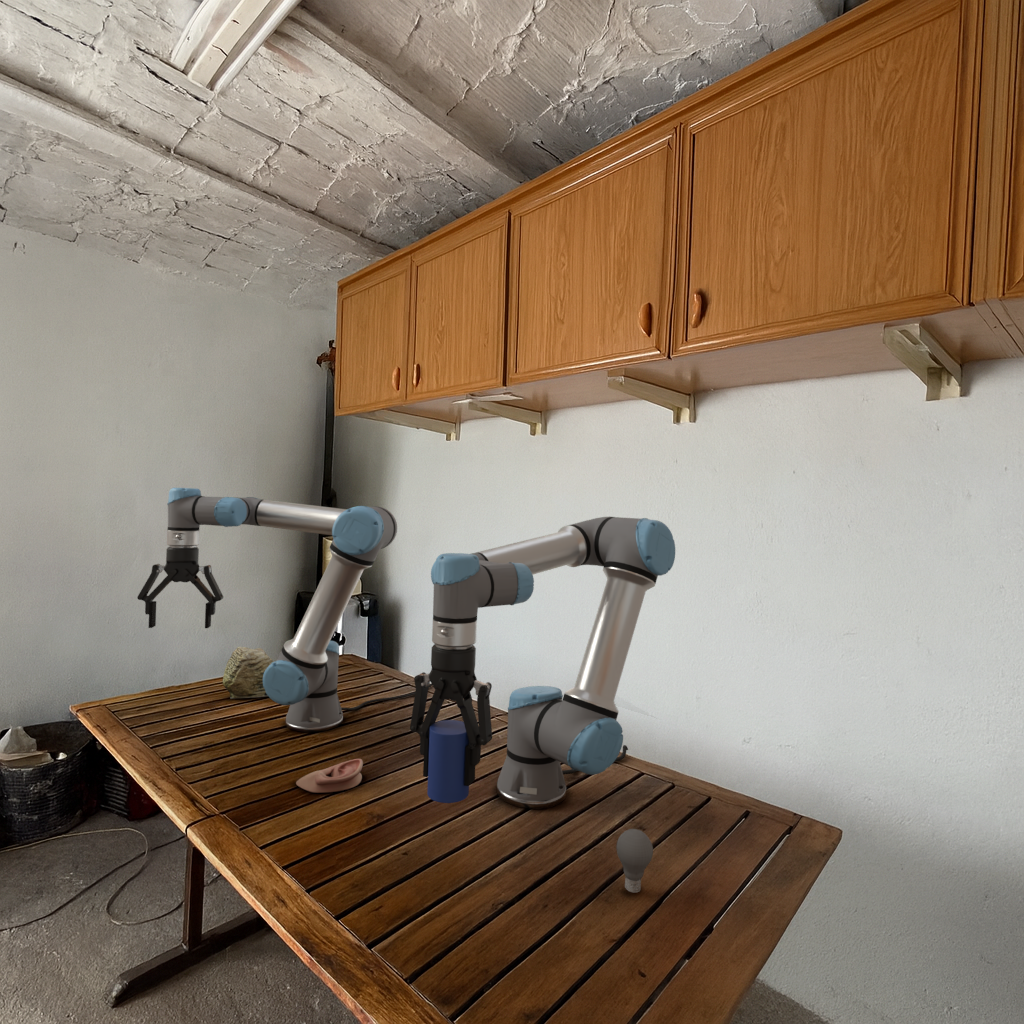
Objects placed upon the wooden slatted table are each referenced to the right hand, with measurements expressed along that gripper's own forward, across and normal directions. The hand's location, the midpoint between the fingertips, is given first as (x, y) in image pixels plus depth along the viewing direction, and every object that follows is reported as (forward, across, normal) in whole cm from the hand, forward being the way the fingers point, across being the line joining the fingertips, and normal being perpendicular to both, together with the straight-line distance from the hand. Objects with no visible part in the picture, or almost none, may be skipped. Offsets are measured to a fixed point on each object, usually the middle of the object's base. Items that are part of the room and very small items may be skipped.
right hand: (448, 777), depth 108 cm
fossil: (+17, -97, +59) cm, 114 cm away
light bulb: (+17, +31, +9) cm, 36 cm away
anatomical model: (+16, -38, +19) cm, 46 cm away
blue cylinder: (+3, 0, 0) cm, 3 cm away
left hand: (-11, -93, +27) cm, 97 cm away
